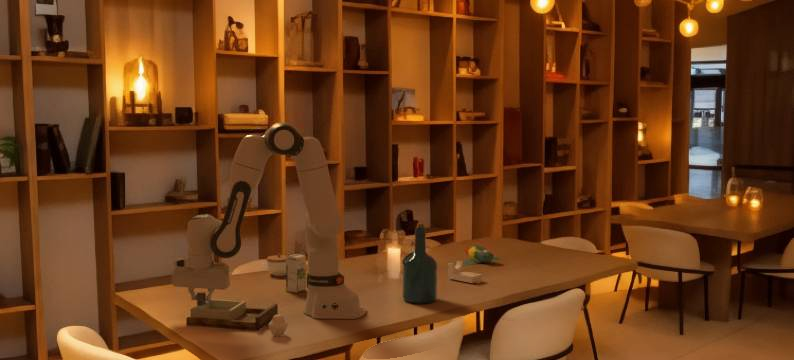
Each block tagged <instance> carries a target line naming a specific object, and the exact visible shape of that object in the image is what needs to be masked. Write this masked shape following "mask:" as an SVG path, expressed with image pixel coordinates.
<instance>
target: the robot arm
mask: <svg viewBox="0 0 794 360" xmlns="http://www.w3.org/2000/svg"><path fill="white" fill-rule="evenodd" d="M236 149H237V150H236V151H235V155H234V157H233V160H232V162H231V167H230V172H229V178H228V179H229V181H228V186H229V195H228V201H227V204H226V209H225V212H224V216H223V219H222V220H219V219H218V218H215V217H214V216H213V215H211V214H210V213H209V214H208V213H206V214H205V213H204V214H198V215H194V216H193V217H191V218H190V219H189V221H188V222H187V230H186V231H187V233H186V234H187V235H186V241H187V244H188V248H187V255H185V256H183V257H180V258H178V259H175V260H174V261H173V265H174V268H173V270H172V275H171V282H172V285H173V287H175V288H176V287H177V288H187V291H188V292H189V294H190V298H191V301H197V293H195V289H207V294H206V296H205V301H211V299H212V295H213V293H214V292H215V290H227V289H228V288H229V287H230V284H231V282H230V280H231V279H230V275H229V274H230V268H229V265H228V264H227V263H225V262H219V261H217V262H216V261H215V255H216V257H219V258H221V259H229V258H233V257H235V256H236V255H237V254H238V253H239V252H240V250H241V247H242V235H241V229H242V228H241V227H242V224H243V220H244V216H245V213H246V210H247V206H248V205H249V202H250V200H251V198H252V196H253V194H254V193H255V191H256V190H257V188H258V186H259V184H260V181H261V179H262V177H263V174H264V171H265V167H266V164H267V161H268V160H269V158H270V157H271V156H272V155H274V154H275V155H281V156H291V157H292V158H293V159H292V160H293V161H294V164H295V169H296V174H297V178H298V182H299V183H298V184H299V186H300V192H301V195H302V198H303V201H304V203H305V207H306V213H305V234H306V244H307V259H308V260H307V272H306V273H307V274H306V289H307V292H306V293H307V294H306V301H305V305H304V308H303V313H304V314H305V315H308V316H310V317H312V318H313V319H327V320H328V319H329V320H330V319H331V320H332V319H335V320H336V319H338V320H340V319H343V320H345V319H346V320H349V319H350V320H355V319H359V318H361V317H363V316H364V315H365V314H366V313H367V308H366V307H365V306H364V305H361V303H360V302H361V301H360V298H359V294H358V293H357V292H356V291H354V290H353V289H351V287H349V286H348V285H347V284H346V283H345V278H346V277H345V276H346V275H345V274H343V275H342V274H341V273H340V271H339V269H340V266H339V265H340V259H339V258H340V256H339V255H340V252H339V251H340V250H339V246H338V238H337V237H338V235H339V234H340V233H341V231H342V229H343V218H342V216H341V211H340V207H339V204H338V201H337V197H336V195H335V191H334V189H333V185H332V180H331V176H330V172H329V166H328V163H327V157H326V155H325V152H324V149H323V147H322V144H321V141H320V140H319V139H318V138H316V137H315V136H302V135H301V134H300V133H299V132H298V130H296V128H294V126H292V125H290V124H289V123H286V122H276V123H275V124H272V125H270V126H269V127H268V128H267V129H266V130H265V131H264V132H263V133H261V134H260V135H257V134H249V135H246V136H243V138H242V139H241V141H240V143H239V145H238V146H237V148H236Z"/></svg>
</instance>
